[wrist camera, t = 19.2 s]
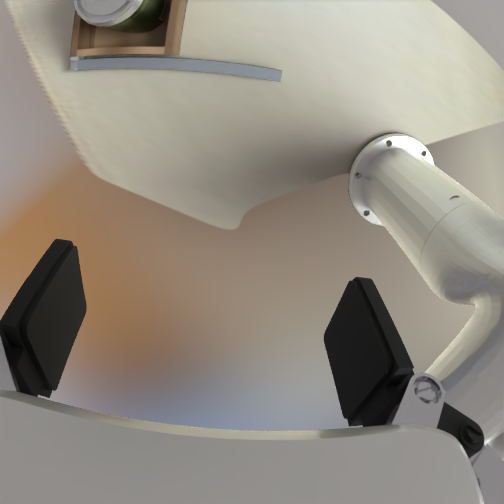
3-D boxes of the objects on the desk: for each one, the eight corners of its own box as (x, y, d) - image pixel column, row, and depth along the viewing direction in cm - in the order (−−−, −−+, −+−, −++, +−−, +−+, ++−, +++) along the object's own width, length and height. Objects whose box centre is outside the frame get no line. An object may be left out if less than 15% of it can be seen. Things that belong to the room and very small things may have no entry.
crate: (193, -30, 22) (188, -43, 18) (178, 54, 28) (171, 54, 24) (101, -27, 21) (84, -37, 17) (89, 55, 26) (70, 57, 22)
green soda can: (172, -15, 23) (147, -47, 13) (168, 32, 26) (140, 20, 16) (121, -10, 22) (74, -33, 12) (118, 36, 25) (68, 32, 15)
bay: (297, -29, 23) (301, -33, 22) (276, 80, 31) (279, 81, 29) (92, -37, 20) (85, -41, 18) (76, 69, 27) (69, 71, 25)
